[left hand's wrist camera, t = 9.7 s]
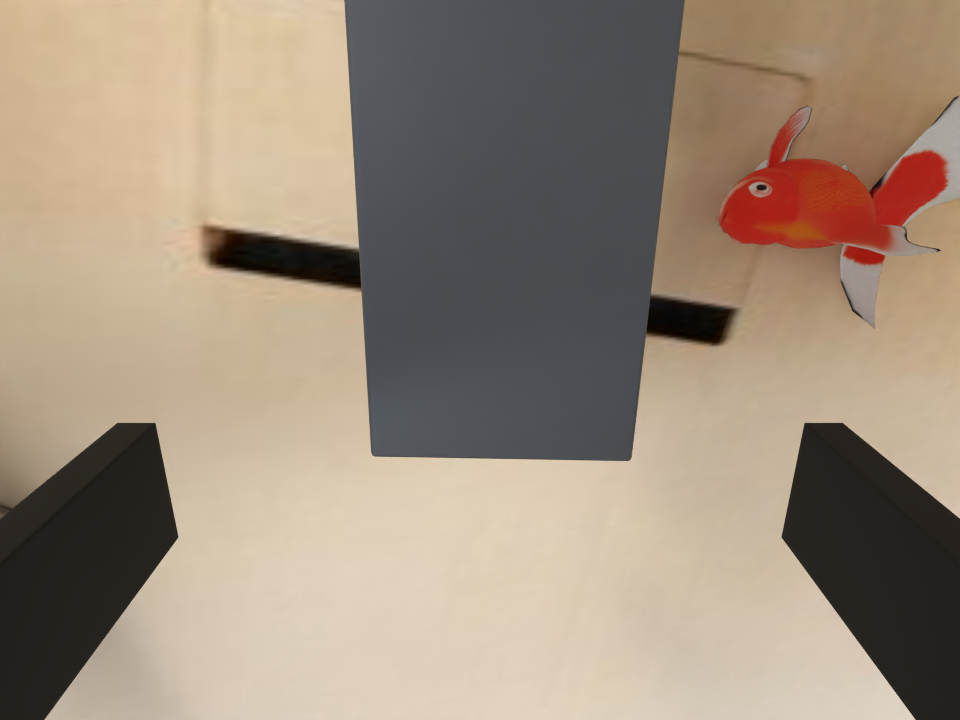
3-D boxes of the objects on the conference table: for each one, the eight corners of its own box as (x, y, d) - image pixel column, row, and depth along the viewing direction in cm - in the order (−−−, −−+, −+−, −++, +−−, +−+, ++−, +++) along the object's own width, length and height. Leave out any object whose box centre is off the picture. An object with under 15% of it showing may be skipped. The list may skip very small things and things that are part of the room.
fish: (773, -1, 28) (946, 97, 21) (961, 86, 35) (1134, 179, 28) (647, 206, 34) (751, 328, 28) (828, 243, 41) (943, 348, 35)
